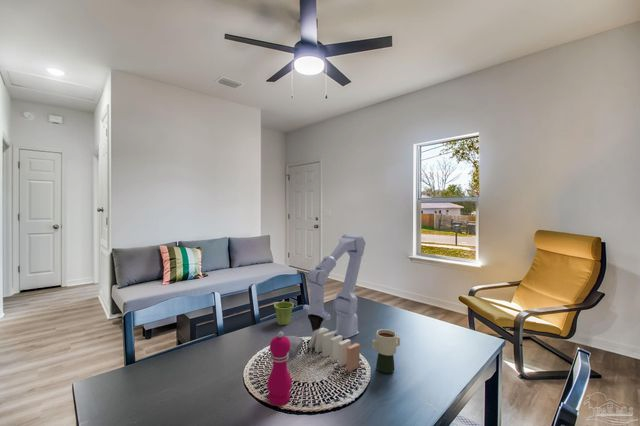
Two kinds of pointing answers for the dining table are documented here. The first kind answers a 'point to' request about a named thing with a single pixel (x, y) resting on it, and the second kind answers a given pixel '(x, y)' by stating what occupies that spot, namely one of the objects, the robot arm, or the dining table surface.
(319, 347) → the domino
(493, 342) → the dining table surface
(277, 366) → the pepper mill
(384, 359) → the character mug
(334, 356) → the domino
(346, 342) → the domino
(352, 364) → the domino
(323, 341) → the domino
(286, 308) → the plant pot
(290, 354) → the stone block
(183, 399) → the dining table surface
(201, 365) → the dining table surface
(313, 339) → the domino
